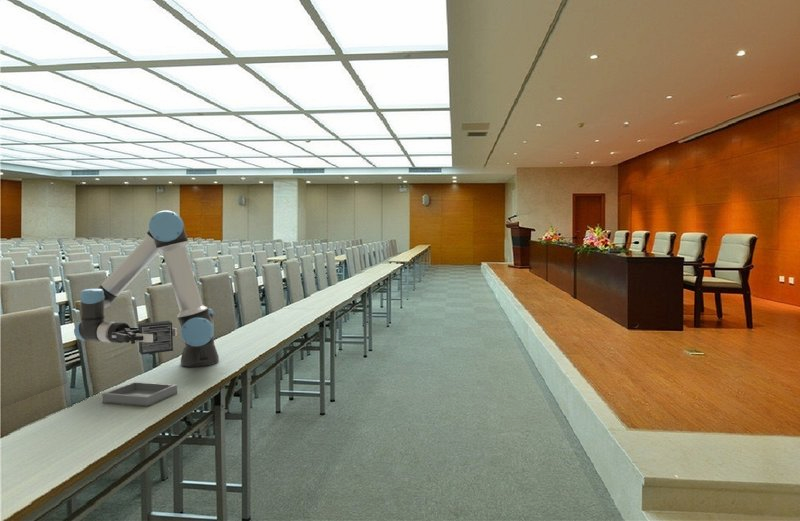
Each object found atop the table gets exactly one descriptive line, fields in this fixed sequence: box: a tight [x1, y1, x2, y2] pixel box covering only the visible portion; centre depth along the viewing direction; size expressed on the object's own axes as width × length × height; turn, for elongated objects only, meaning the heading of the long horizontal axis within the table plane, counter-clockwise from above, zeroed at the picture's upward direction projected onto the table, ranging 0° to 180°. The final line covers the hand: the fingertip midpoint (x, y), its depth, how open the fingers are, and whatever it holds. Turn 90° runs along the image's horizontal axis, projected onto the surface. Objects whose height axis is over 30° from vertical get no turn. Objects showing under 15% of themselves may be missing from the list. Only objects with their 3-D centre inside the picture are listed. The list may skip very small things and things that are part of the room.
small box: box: [137, 320, 174, 355], centre depth 183 cm, size 11×6×10 cm, turn 124°
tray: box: [101, 381, 178, 408], centre depth 169 cm, size 14×17×3 cm
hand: (164, 335), depth 182 cm, fingers closed on small box, 11 cm apart
